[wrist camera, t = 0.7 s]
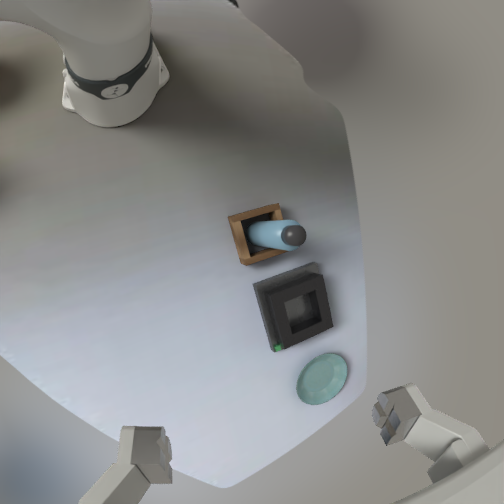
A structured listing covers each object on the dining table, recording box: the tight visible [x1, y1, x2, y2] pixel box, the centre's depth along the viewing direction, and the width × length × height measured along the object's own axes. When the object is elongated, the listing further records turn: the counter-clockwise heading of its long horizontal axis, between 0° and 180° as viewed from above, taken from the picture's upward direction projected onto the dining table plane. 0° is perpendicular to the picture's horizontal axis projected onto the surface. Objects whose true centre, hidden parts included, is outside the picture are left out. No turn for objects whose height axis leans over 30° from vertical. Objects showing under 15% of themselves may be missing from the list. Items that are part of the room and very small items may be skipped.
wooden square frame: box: [228, 203, 288, 266], centre depth 51 cm, size 8×8×3 cm
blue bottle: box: [245, 220, 306, 251], centre depth 45 cm, size 4×4×15 cm
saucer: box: [296, 353, 347, 405], centre depth 58 cm, size 12×12×2 cm
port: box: [253, 262, 333, 352], centre depth 53 cm, size 13×12×4 cm
